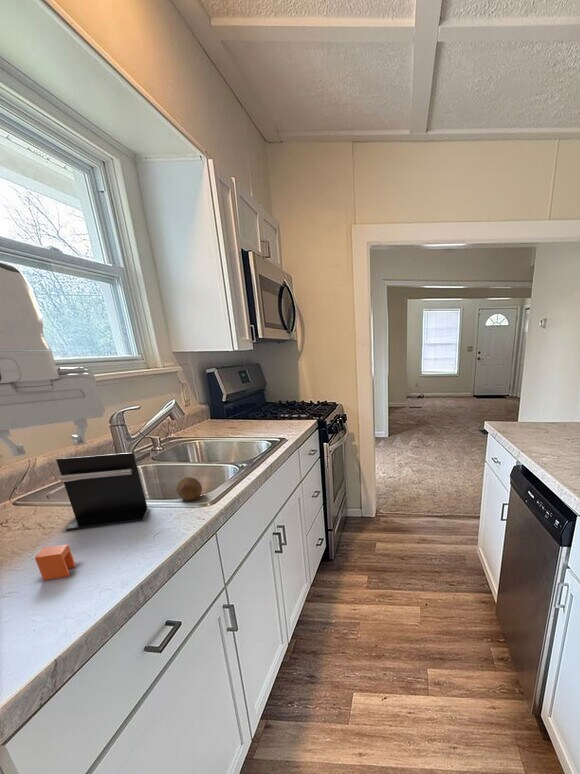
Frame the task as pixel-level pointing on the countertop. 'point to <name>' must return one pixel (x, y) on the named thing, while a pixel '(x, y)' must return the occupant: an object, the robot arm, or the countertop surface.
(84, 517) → the oven panel
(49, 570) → the block
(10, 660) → the countertop surface
